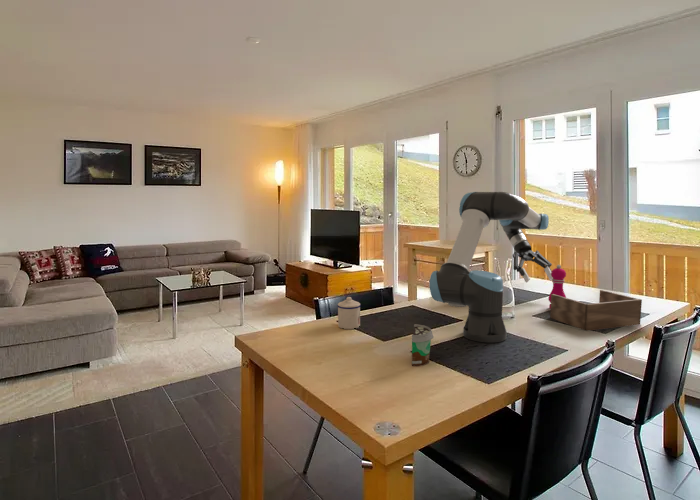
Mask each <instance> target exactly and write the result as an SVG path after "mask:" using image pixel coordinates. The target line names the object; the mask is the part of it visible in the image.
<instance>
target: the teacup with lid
mask: <svg viewBox="0 0 700 500" xmlns="http://www.w3.org/2000/svg"><path fill="white" fill-rule="evenodd" d="M361 305H362V304H361V303H360V302H359V301H356V300H354V299H352V297H351V296H347V297H346V299H344V300H343V301H340V302H338V303H337V320H338V321H337V322H338V323H337V324H338V325H337V326H338V328H340V329H342V328H344V329H343V330H354V328H356V329H358V328H360V327H361ZM359 326H360V327H359Z"/></svg>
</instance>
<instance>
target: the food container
mask: <svg viewBox="0 0 700 500" xmlns="http://www.w3.org/2000/svg"><path fill="white" fill-rule="evenodd" d="M433 338H434V334H433V331H432V328H430V326H428V325H424V324H423V325H422V324H417V323H416V324H413V333H412V334H411V367H421V366H422V367H423V366H425V365H428V364H429V362H430V355H431V343H432V339H433Z"/></svg>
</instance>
